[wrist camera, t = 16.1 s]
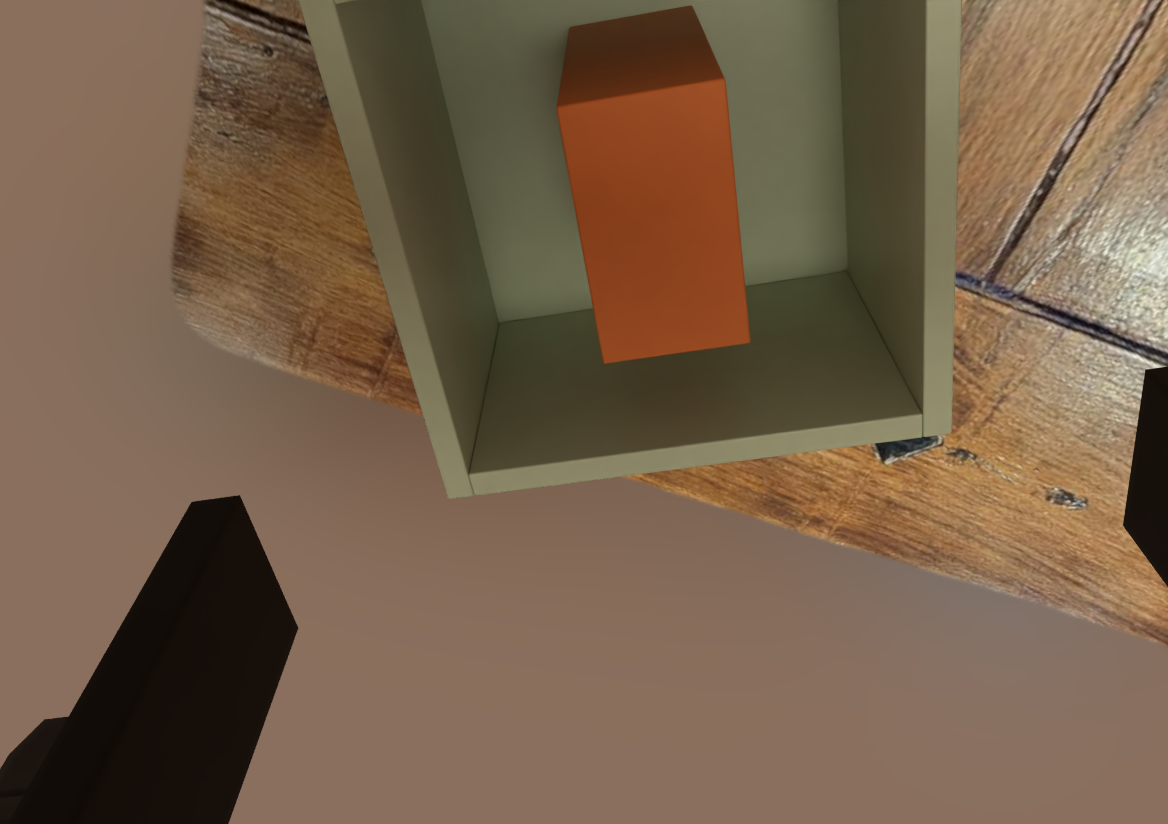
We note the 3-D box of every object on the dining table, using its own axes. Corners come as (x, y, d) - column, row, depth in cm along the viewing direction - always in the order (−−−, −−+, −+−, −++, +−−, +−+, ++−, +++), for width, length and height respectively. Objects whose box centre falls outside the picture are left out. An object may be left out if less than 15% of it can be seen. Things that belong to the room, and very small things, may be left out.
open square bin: (484, 336, 38) (447, 500, 29) (381, -76, 31) (288, -27, 22) (866, 280, 37) (951, 434, 28) (854, -167, 29) (966, -156, 20)
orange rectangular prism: (603, 230, 35) (603, 364, 27) (568, 26, 32) (555, 106, 23) (715, 213, 35) (750, 343, 26) (692, 4, 31) (725, 77, 23)
